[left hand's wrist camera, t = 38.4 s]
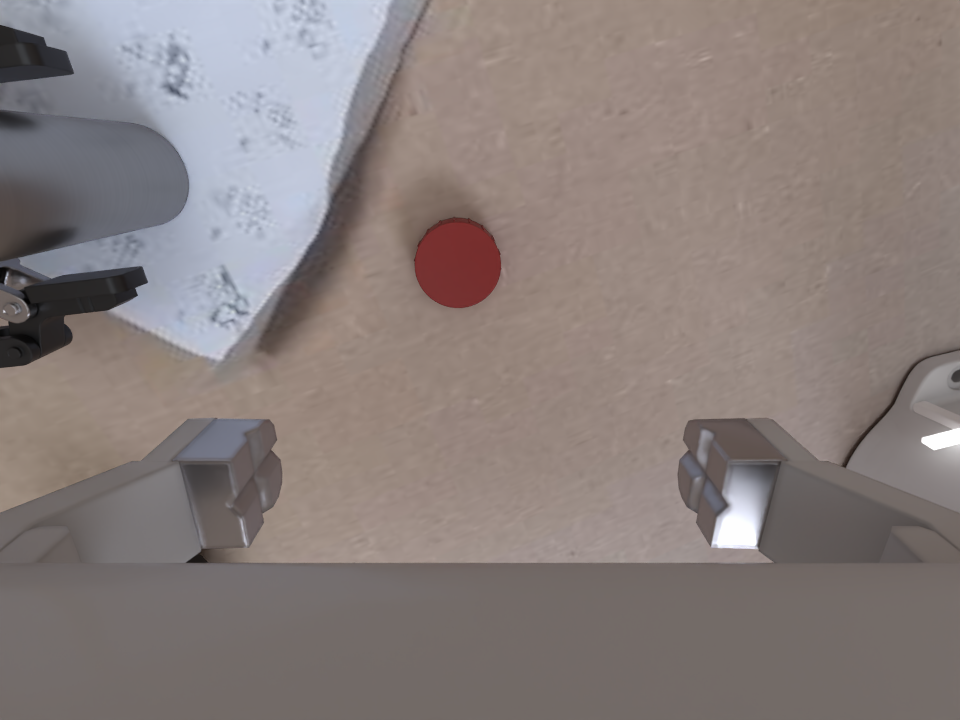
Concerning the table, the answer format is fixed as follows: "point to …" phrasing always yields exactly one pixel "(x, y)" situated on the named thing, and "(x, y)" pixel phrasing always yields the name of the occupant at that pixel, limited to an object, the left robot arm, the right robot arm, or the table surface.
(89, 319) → the table surface
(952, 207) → the table surface
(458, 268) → the cap
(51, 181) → the bottle
